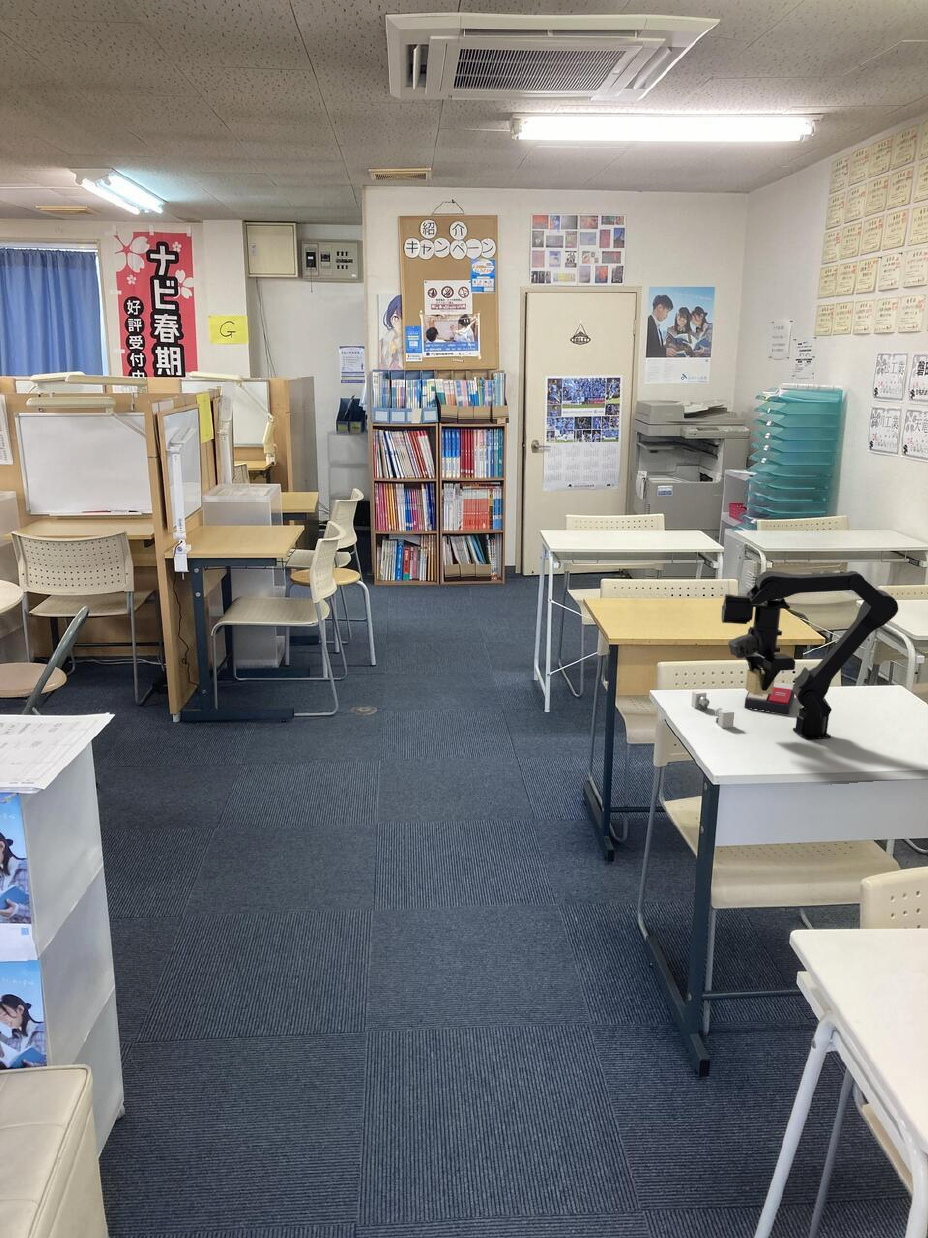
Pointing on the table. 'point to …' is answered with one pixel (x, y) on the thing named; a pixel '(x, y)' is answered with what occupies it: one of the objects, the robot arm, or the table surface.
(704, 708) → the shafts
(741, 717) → the table surface
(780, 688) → the red and grey box
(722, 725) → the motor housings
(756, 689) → the tan block
